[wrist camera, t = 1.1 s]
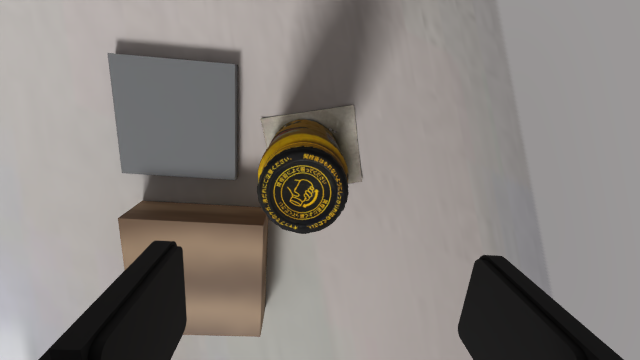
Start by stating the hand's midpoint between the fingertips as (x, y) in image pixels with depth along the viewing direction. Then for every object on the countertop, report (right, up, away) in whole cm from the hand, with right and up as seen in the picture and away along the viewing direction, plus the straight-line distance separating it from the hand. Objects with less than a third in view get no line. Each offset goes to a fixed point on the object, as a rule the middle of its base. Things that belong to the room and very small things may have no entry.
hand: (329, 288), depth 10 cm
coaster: (-13, +9, +17) cm, 23 cm away
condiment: (-1, +6, +19) cm, 20 cm away
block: (-12, -5, +22) cm, 25 cm away
